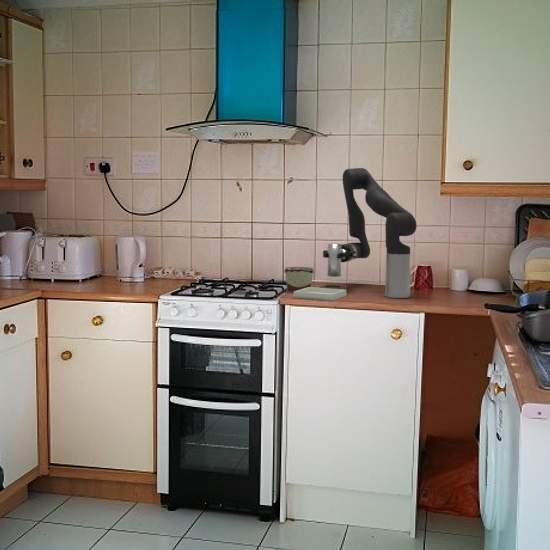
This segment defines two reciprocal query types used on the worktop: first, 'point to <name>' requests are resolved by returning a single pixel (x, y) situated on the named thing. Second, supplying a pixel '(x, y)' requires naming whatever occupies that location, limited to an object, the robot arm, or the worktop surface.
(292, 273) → the food container
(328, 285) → the socket block
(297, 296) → the tray
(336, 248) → the grey metallic cylinder
